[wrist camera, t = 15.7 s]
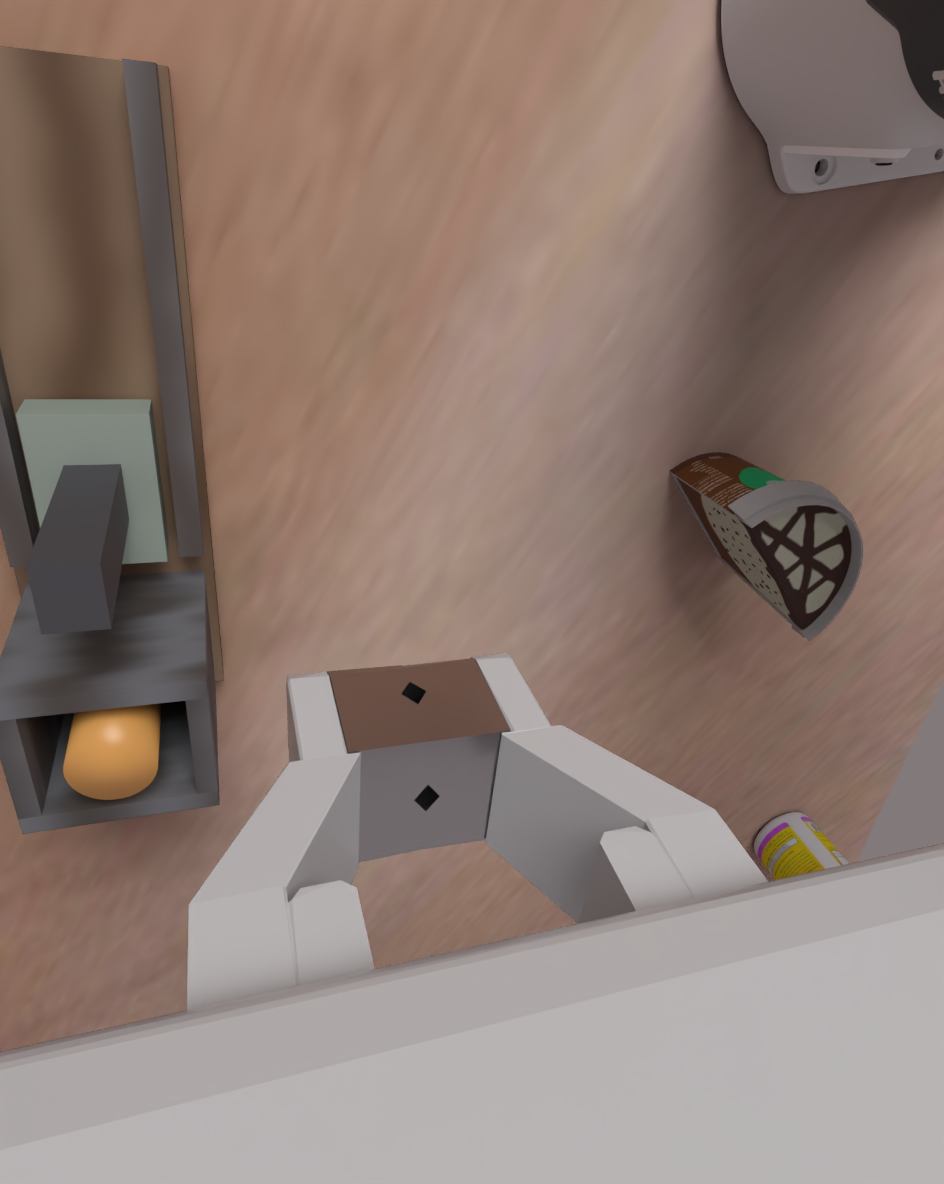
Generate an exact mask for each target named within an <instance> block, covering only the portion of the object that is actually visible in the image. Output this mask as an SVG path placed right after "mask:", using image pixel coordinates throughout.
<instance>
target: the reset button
mask: <svg viewBox="0 0 944 1184" xmlns="http://www.w3.org/2000/svg"><path fill="white" fill-rule="evenodd" d="M161 707H162V703H159V704H149V705H140V706H131V707H122V708H113V709H103V710H94V711H85V712H76V713H74V716H73V721H72V726H71V731H70V735H69V740H68V745H67V750H66V755H65V760H64V765H63V773H64V777H65V779H66V781H67V783H68V784H69V785H70V786H71V787H72V788H73V789H74V790H75V791H77V792H78V793H80V794H82V795H85V796H87V797H91V798H95V799H101V800H115V799H121V798H126V797H129V796H132V795H135V794H137V793H139V792H140V791H142V790H143V789H145V788H146V787H147V786H148V785H149V784H150V783H151V782H152V781H153V780H154V778H155V776H156V774H157V770H158V758H159V741H160V724H161Z"/></svg>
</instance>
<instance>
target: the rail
mask: <svg viewBox="0 0 944 1184" xmlns="http://www.w3.org/2000/svg"><path fill="white" fill-rule="evenodd" d="M24 399H151V402H152V410H153V418H154V426H155V434H156V443H157V451H158V459H159V467H160V475H161V483H162V491H163V500H164V508H165V516H166V524H167V532H168V540H169V546H168V561H167V562H150V563H132V564H122V568H121V574H120V580H119V586H118V592H117V598H116V604H115V611H114V617H113V623H112V629H105V630H92V631H80V632H67V633H55V634H43V635H41V630H40V626H39V622H38V618H37V613H36V609H35V605H34V601H33V596H32V592H31V588H30V583H29V579H28V575H27V571H26V565H27V563H28V560H29V557H30V555H31V552H32V549H33V547H34V544H35V541H36V538H37V536H38V533H39V530H40V524H39V519H38V515H37V510H36V505H35V501H34V496H33V492H32V487H31V482H30V478H29V473H28V468H27V464H26V459H25V455H24V450H23V445H22V441H21V436H20V431H19V427H18V422H17V418H16V413H17V411H18V410H19V408H20V406H21V405H22V403H23V401H24ZM0 526H1V530H2V534H3V538H4V543H5V547H6V551H7V555H8V559H9V563H10V567H14V570H15V574H16V578H17V582H18V587H19V591H20V595H21V601H20V604H19V607H18V610H17V613H16V616H15V618H14V621H13V624H12V627H11V630H10V632H9V635H8V638H7V641H6V644H5V646H4V649H3V652H2V655H1V658H0V759H1V763H2V766H3V770H4V773H5V776H6V780H7V783H8V786H9V790H10V793H11V797H12V800H13V803H14V807H15V810H16V813H17V817H18V820H19V823H20V827H21V830H22V834H27V833H33V832H40V831H47V830H54V829H60V828H67V827H74V826H80V825H87V824H94V823H101V822H107V821H114V820H121V819H128V818H134V817H141V816H148V815H155V814H161V813H168V812H175V811H182V810H188V809H195V808H202V807H208V806H215V805H219V777H218V747H217V717H216V686H215V681H224V676H223V661H222V649H221V638H220V627H219V616H218V605H217V594H216V583H215V572H214V561H213V550H212V539H211V528H210V517H209V506H208V495H207V484H206V473H205V462H204V451H203V440H202V429H201V418H200V407H199V396H198V385H197V374H196V363H195V352H194V341H193V330H192V319H191V308H190V297H189V286H188V275H187V264H186V253H185V242H184V230H183V219H182V208H181V197H180V186H179V175H178V164H177V153H176V142H175V131H174V120H173V109H172V98H171V87H170V76H169V68H168V66H161V65H157V64H156V63H153V62H145V61H136V60H128V59H122V61H120V60H111V59H103V58H95V57H87V56H78V55H70V54H62V53H54V52H46V51H37V50H29V49H21V48H13V47H4V46H0ZM159 703H162V707H161V724H160V741H159V758H158V770H157V774H156V776H155V778H154V780H153V781H152V782H151V783H150V784H149V785H148V786H147V787H146V788H145V789H143V790H142V791H140V792H139V793H137V794H135V795H132V796H129V797H126V798H121V799H115V800H101V799H95V798H91V797H87V796H85V795H82V794H80V793H78V792H77V791H75V790H74V789H73V788H72V787H71V786H70V785H69V784H68V783H67V781H66V779H65V777H64V773H63V765H64V760H65V755H66V750H67V745H68V740H69V735H70V731H71V726H72V721H73V716H74V713H76V712H85V711H94V710H103V709H113V708H122V707H131V706H140V705H149V704H159Z"/></svg>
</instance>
